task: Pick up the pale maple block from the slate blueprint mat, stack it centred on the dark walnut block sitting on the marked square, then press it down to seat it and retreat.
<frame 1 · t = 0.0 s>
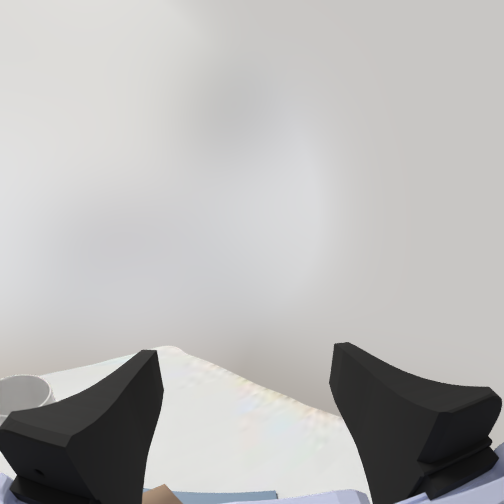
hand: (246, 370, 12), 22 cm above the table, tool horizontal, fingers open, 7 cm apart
mug: (60, 468, 24), on the table
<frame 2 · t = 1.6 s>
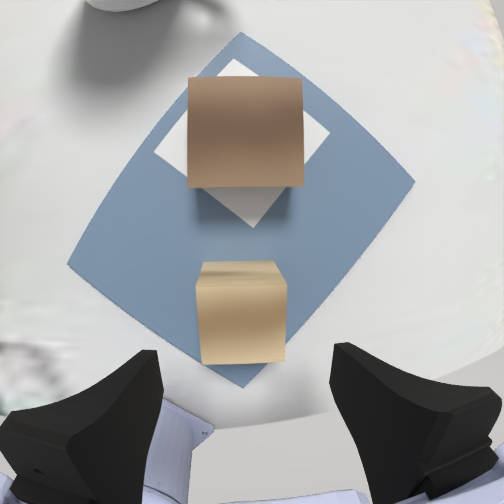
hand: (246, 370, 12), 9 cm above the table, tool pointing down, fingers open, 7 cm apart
walnut base: (243, 138, 18), resting on blueprint mat
blueprint mat: (240, 217, 20), on the table
maple block: (239, 294, 21), resting on blueprint mat
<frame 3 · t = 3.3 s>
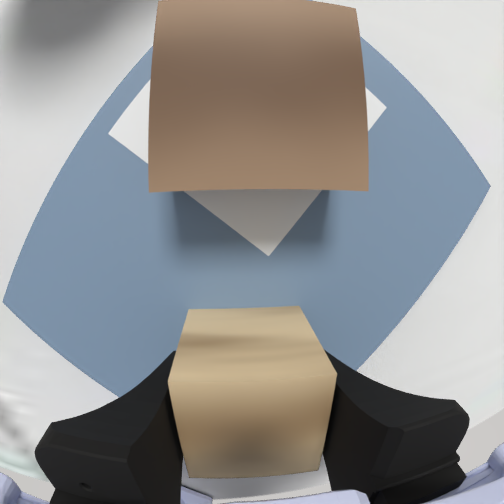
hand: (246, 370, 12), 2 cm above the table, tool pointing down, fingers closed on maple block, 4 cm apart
walnut base: (252, 109, 11), resting on blueprint mat
blueprint mat: (247, 238, 12), on the table
maple block: (245, 355, 13), resting on blueprint mat, touching gripper
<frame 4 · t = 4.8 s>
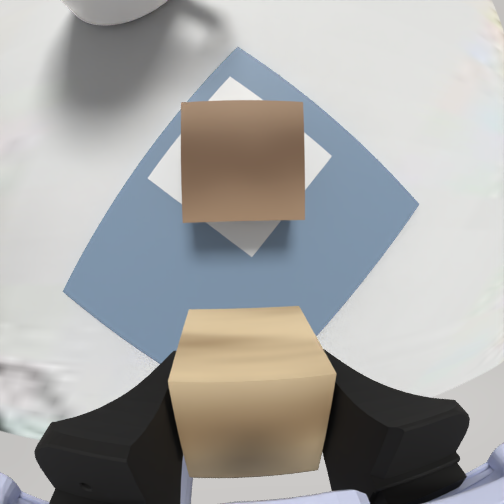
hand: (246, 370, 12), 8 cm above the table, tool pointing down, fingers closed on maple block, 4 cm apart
walnut base: (240, 164, 18), resting on blueprint mat
blueprint mat: (238, 246, 19), on the table
maple block: (245, 355, 13), point 7 cm above the table, touching gripper
when the fingers open (7 cm above the table, at t = 6.1 s): maple block drops 1 cm, resting on walnut base.
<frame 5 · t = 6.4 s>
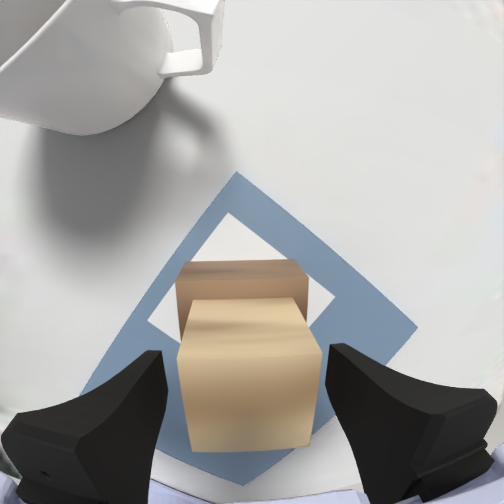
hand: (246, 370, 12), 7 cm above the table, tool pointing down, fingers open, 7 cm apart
walnut base: (240, 310, 18), resting on blueprint mat, touching maple block
mug: (128, 72, 15), on the table
blueprint mat: (239, 376, 19), on the table
maple block: (243, 342, 14), point 4 cm above the table, touching walnut base
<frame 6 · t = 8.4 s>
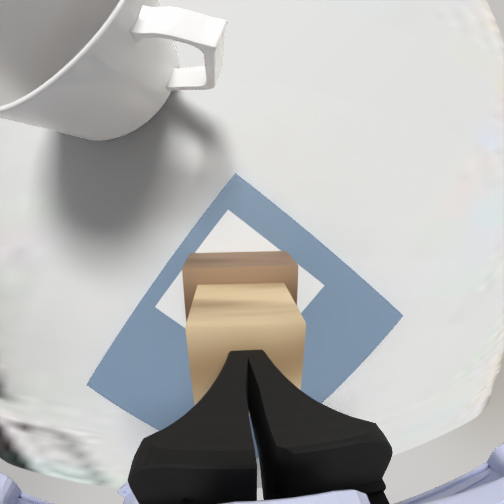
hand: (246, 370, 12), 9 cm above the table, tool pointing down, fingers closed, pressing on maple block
walnut base: (239, 297, 20), resting on blueprint mat, touching maple block
mug: (138, 83, 17), on the table
blueprint mat: (238, 359, 21), on the table
maple block: (241, 323, 17), point 4 cm above the table, touching gripper, walnut base
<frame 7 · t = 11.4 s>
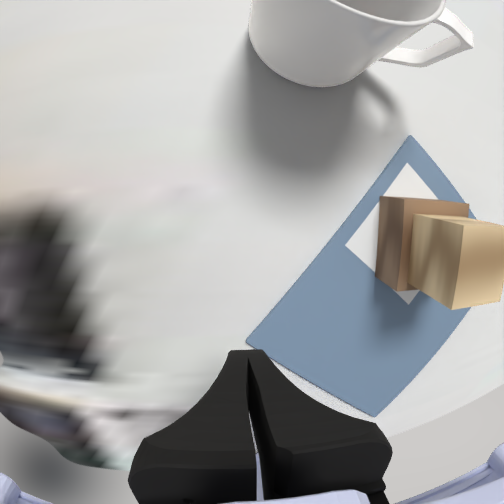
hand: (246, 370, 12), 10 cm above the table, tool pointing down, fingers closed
walnut base: (410, 236, 22), resting on blueprint mat, touching maple block
mug: (327, 47, 19), on the table
blueprint mat: (399, 296, 23), on the table
maple block: (436, 248, 18), point 4 cm above the table, touching walnut base
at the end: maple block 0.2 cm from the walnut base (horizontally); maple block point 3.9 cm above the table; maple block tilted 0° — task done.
